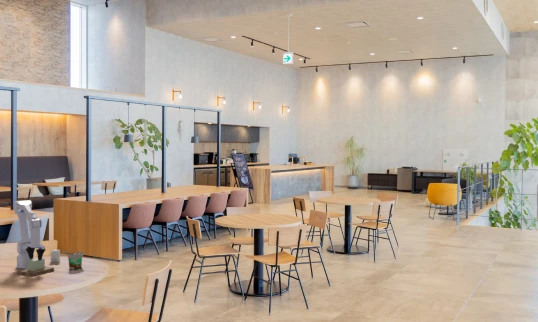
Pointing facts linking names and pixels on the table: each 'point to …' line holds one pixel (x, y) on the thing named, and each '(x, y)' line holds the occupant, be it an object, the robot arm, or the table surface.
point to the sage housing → (36, 264)
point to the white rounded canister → (55, 256)
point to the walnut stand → (36, 272)
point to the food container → (75, 261)
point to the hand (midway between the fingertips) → (35, 259)
